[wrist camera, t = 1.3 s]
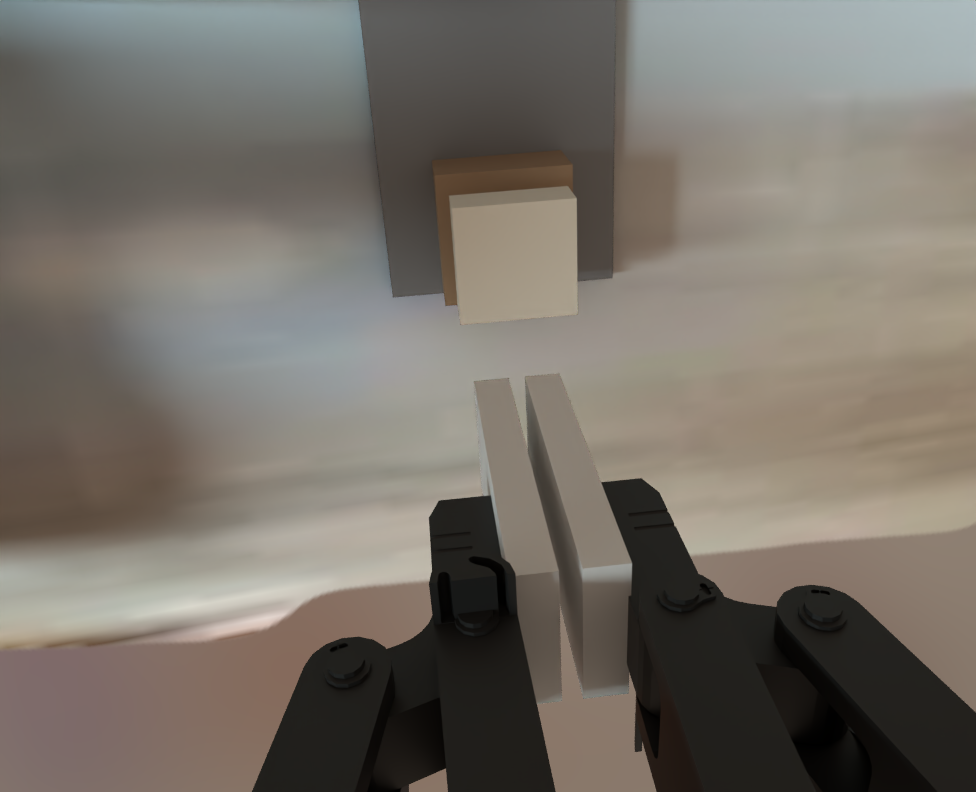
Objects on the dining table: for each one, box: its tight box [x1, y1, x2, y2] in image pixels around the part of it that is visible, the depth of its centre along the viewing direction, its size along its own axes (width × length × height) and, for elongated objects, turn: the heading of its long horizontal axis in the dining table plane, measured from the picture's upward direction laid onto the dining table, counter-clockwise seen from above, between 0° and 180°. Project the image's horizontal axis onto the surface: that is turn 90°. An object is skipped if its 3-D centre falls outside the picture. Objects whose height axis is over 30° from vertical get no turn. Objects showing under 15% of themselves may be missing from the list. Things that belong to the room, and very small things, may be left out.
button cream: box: [449, 186, 578, 325], centre depth 37 cm, size 5×5×5 cm
